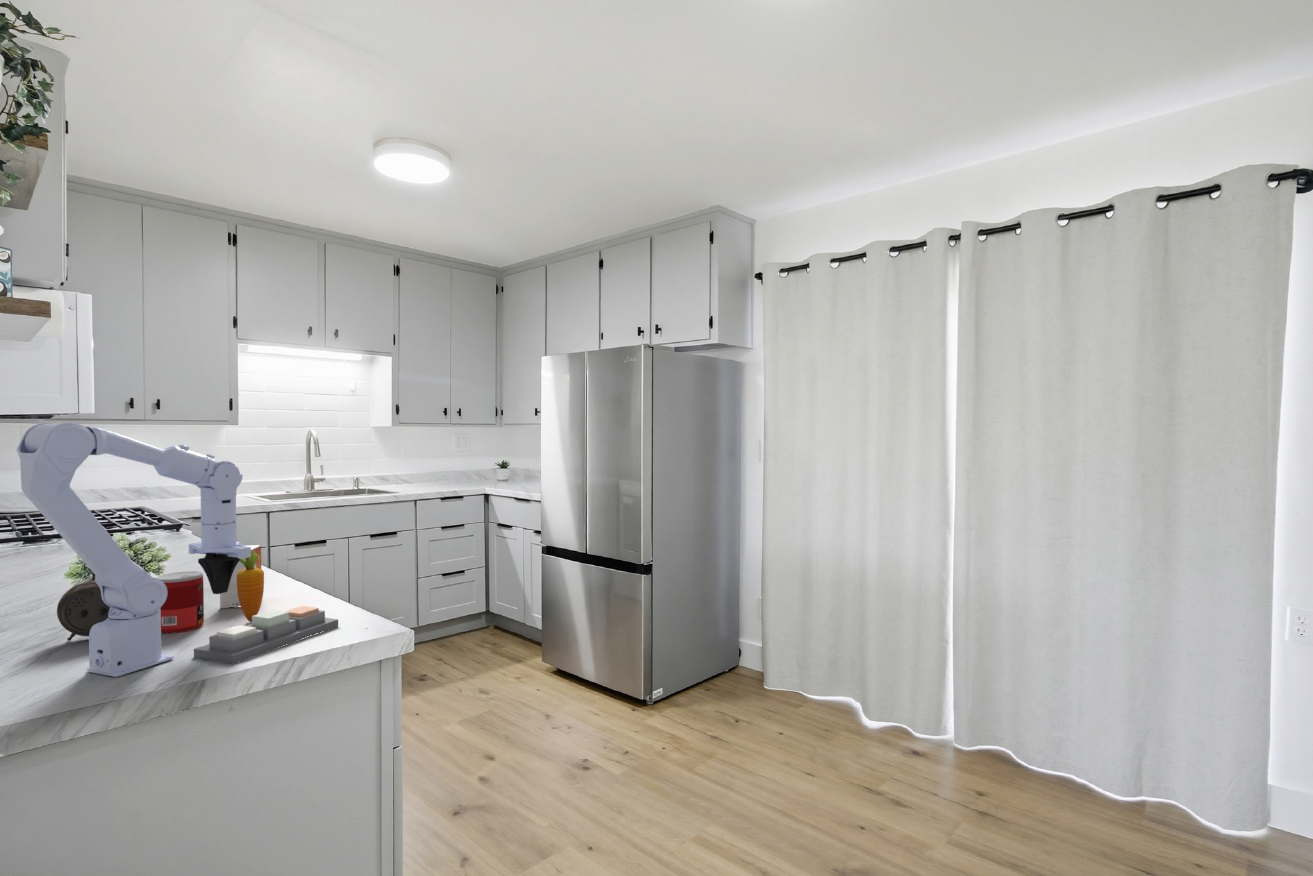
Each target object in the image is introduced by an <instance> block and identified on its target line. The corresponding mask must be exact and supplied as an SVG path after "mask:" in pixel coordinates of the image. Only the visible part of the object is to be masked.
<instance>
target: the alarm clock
mask: <svg viewBox="0 0 1313 876" xmlns="http://www.w3.org/2000/svg"><path fill="white" fill-rule="evenodd" d="M86 566H87V565H86V564H85V563H83V570H84V571H85V573H87V574H91V575H92V576H91V577H88V578H85V579H83V580H80V581H79V582H77V583H75V585H73V586H71V588H69V589H68V590H67V591H65V593H64V594H63V595H62V596H61V598H60V599H59V601H58V603H57V608H56V616H57V620H58V622H59V624H60V625H61V626H62V627H63V628H64V629H65V630H66V631H67V632H69V633H71V634H70V636H69V637H68V638H66V639H67V641H72V639H73V638H74V637H75V636H76V635H77V636H80V637H87V638H89V633H90V630H91V628H92V626H93V625H95V624H97V623H100V622H103V621H104V620H106V619H107V618H109V617H108V614H109V610H110V607H109V606H108V605H106V604H105V603H104V601H103V600H102V596H101V590H100V587H99V586H98V585H97V583H96V582H95V574H94V573H93V572H92V571H89V570H87V567H86Z"/></svg>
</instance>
